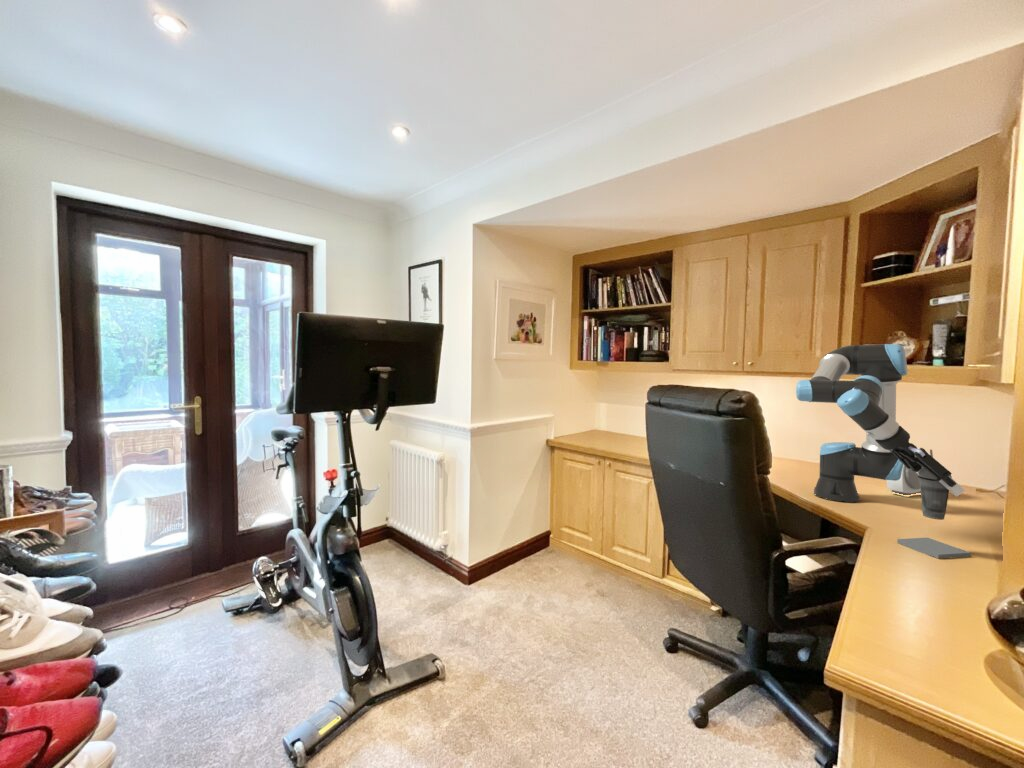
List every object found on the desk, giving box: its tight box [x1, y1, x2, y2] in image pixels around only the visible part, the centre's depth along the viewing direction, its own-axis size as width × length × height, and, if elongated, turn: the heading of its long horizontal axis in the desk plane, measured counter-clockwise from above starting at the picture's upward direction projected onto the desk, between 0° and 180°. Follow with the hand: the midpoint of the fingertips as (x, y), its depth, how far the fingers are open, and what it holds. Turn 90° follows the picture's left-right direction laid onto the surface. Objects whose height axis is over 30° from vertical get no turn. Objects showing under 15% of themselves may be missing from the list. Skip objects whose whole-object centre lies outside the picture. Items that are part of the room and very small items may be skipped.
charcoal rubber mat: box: [896, 537, 972, 559], centre depth 124 cm, size 11×11×1 cm
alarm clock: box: [886, 457, 923, 495], centre depth 181 cm, size 18×8×20 cm, turn 110°
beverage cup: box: [918, 449, 953, 521], centre depth 123 cm, size 7×7×20 cm
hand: (948, 489), depth 123 cm, fingers closed on beverage cup, 7 cm apart
